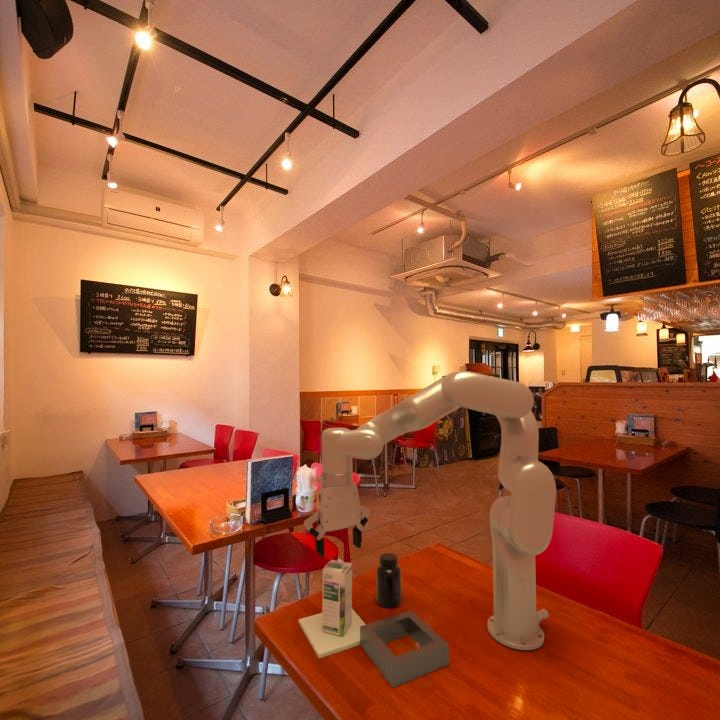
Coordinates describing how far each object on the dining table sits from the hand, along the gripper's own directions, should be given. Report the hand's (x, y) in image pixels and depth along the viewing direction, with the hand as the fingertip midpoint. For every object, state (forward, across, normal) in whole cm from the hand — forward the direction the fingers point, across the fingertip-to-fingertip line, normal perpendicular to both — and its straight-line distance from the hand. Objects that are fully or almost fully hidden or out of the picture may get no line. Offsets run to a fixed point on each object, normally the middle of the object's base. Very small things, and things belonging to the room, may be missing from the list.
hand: (339, 550), depth 94 cm
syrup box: (+18, -1, 0) cm, 18 cm away
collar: (+19, +9, -13) cm, 25 cm away
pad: (+19, -1, +1) cm, 19 cm away
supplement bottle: (+19, +17, +6) cm, 26 cm away
